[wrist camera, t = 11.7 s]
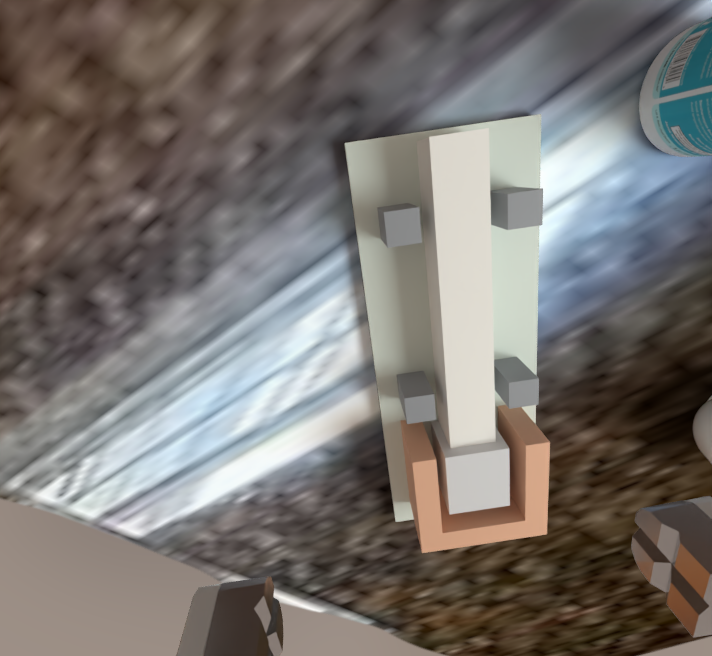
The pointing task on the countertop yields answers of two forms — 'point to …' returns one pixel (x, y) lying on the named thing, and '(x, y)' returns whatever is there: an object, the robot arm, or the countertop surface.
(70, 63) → the countertop surface
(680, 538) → the robot arm
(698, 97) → the pill bottle
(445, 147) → the white long bar
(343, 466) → the countertop surface
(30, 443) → the countertop surface
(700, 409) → the teapot
